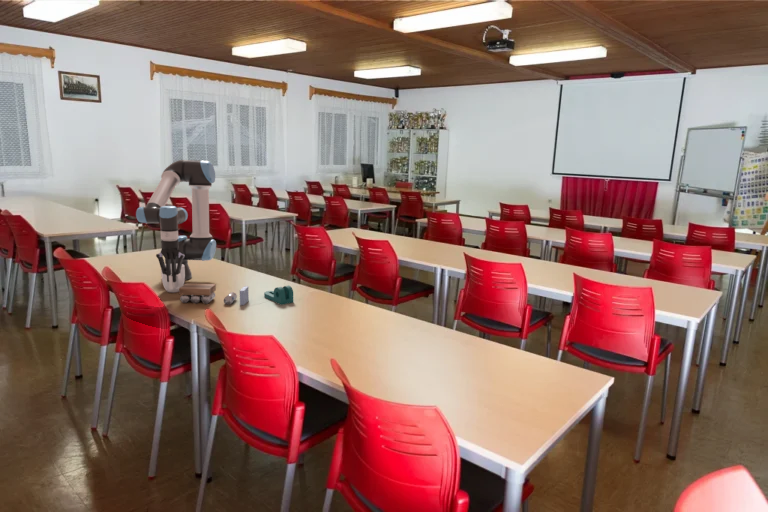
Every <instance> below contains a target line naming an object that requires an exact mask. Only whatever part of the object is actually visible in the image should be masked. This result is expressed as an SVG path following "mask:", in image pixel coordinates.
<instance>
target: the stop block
mask: <svg viewBox="0 0 768 512" xmlns="http://www.w3.org/2000/svg"><path fill="white" fill-rule="evenodd" d="M248 302H249V286H248V285H247V286H246V285H245V286H243V287H241V289H240V290H239V306H245V305H246V304H247V303H248Z"/></svg>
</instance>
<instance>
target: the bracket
mask: <svg viewBox="0 0 768 512" xmlns="http://www.w3.org/2000/svg"><path fill="white" fill-rule="evenodd" d="M263 295H264V298H265V299H266V300H269V301H272V302H274V303H276V304H279V305H280V304H281V305H280V306H283V305H287V304H288V305H289V304H292V303H293V304H294V289H293V288H292V286H291V285H289V284H288V285H284V286H278V287H275V288H274V289H273V290H267V291H264V293H263Z"/></svg>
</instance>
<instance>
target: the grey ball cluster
mask: <svg viewBox="0 0 768 512" xmlns="http://www.w3.org/2000/svg"><path fill="white" fill-rule="evenodd" d="M215 297H216V293H215V291H214V292H213V293H212V294H211V295H181V296H180V298H179V301H180V302H181V303H182V304H186V303H189V301H190V302H191V304H192V303H193V304H198V303H200V302H202V303H203V304H204V305H207V304H209V303H210V302H212V301H213V300H214V299H215Z"/></svg>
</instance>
